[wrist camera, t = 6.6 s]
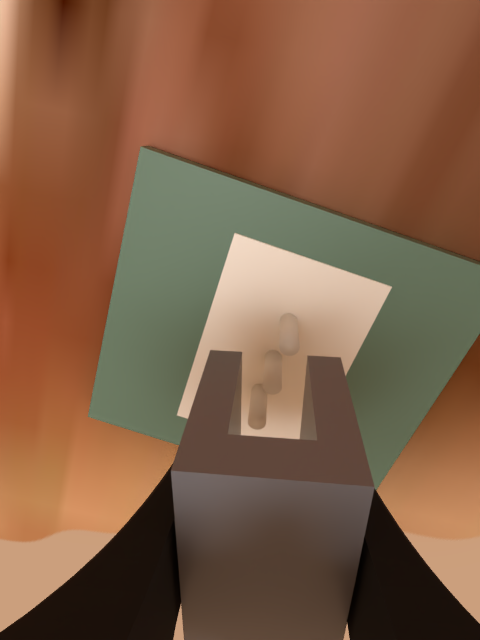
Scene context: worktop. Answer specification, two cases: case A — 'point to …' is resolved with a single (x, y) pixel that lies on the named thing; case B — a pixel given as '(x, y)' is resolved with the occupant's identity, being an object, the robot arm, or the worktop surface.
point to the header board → (275, 309)
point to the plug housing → (269, 511)
